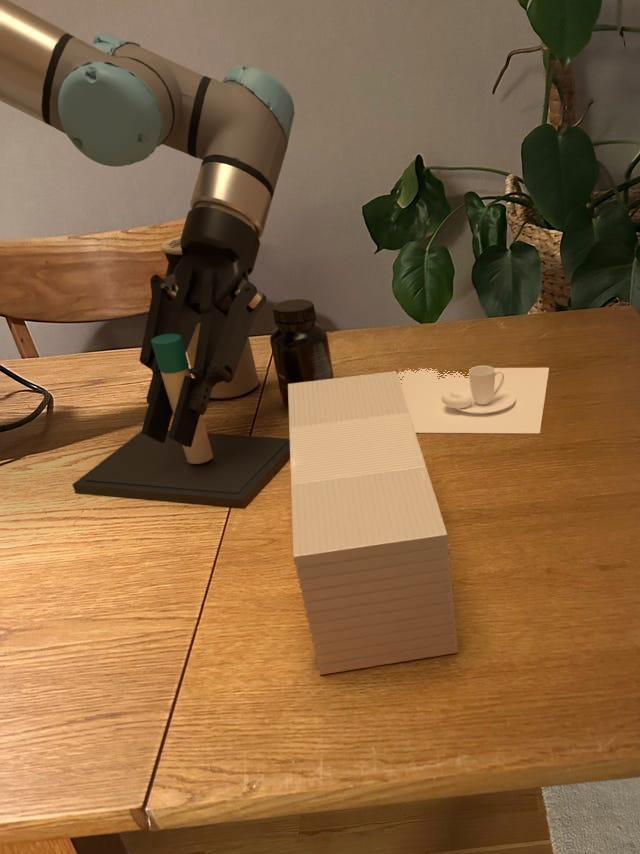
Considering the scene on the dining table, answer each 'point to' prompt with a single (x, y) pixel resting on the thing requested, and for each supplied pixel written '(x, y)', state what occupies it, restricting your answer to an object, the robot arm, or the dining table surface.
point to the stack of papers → (366, 526)
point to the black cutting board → (188, 470)
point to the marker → (173, 374)
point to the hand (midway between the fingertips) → (166, 439)
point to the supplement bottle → (299, 345)
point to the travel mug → (246, 369)
